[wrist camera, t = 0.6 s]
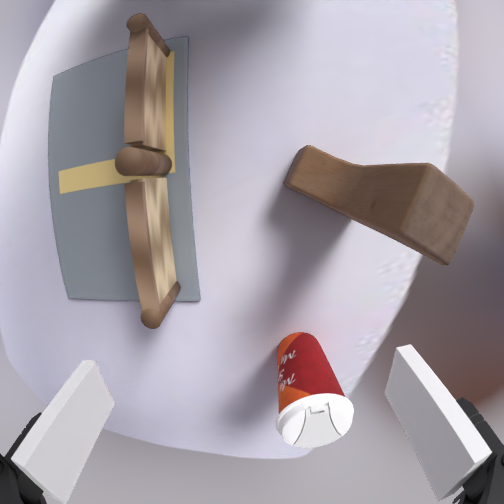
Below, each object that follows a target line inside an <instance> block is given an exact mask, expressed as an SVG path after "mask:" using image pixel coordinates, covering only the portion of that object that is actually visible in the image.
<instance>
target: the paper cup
mask: <svg viewBox="0 0 504 504" xmlns="http://www.w3.org/2000/svg"><path fill="white" fill-rule="evenodd" d="M278 399H279V415H278V417H277V420H276V428H277V431H278V432H279V433H280V435H282V438H283V439H284V440H285V441H286V442H287V443H288V444H290V445H292V446H296V447H302V448H313V447H319V446H323V445H326V444H329V443H331V442H333V441H335V440H337V439H338V438H340V437H342V436H343V435H344V434H345V433H346V432H347V431H348V430H349V428H350V426H351V423H352V416H353V412H354V408H353V405H352V403H351V402H350V401H349V400H348V399H347V398H345V395H344V393H343V391H342V389H341V387H340V385H339V383H338V381H337V379H336V376H335V374H334V372H333V370H332V368H331V366H330V364H329V362H328V360H327V358H326V356H325V354H324V352H323V350H322V348H321V346H320V344H319V342H318V341H317V339H316V338H315V337H314V336H313V335H311V334H308V333H304V332H298V333H294V334H291V335H289V336H287V337H286V338H284V339H283V340H282V342H281V343H280V345H279V347H278Z"/></svg>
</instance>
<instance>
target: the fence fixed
mask: <svg viewBox="0 0 504 504" xmlns="http://www.w3.org/2000/svg"><path fill="white" fill-rule="evenodd" d="M127 28H128V29H129V30H130V31H131V32H130V40H129V48H128V58H127V70H126V85H125V113H124V142H125V144H130V147H125V148H123V149H121V150H120V151H119V152H118V154H117V155H116V158H115V168H116V170H117V172H118V173H119V174H121V175H123V176H163V175H166V174H168V173H169V172H170V170H171V168H172V160H171V158H170V157H169V156H168V155H165V154H161V153H157V152H162V151H166V63H167V57H168V56H169V54H170V49H169V47H168V46H167V44H166V43H165V42H164V40H163V39H162V37H161V36H160V35H159V33H158V32H157V30H156V29H155V28H154V26H153V25H152V23H151V22H150V21H149V19H148V18H147V16H146V15H145V14H142V13H139V14H136V15H134V16H132V17H131V18H130V19H129V20H128V22H127ZM134 147H135V148H134ZM143 149H144V150H143ZM148 150H149V151H148ZM152 151H153V152H152Z"/></svg>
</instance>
